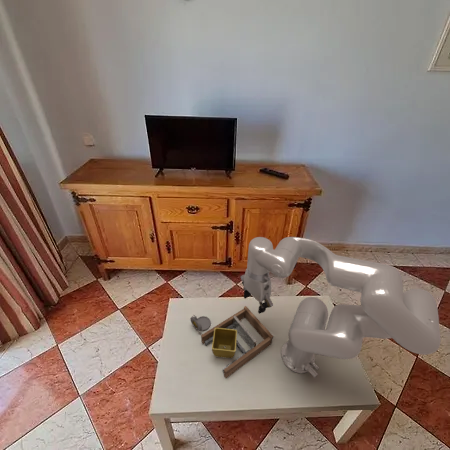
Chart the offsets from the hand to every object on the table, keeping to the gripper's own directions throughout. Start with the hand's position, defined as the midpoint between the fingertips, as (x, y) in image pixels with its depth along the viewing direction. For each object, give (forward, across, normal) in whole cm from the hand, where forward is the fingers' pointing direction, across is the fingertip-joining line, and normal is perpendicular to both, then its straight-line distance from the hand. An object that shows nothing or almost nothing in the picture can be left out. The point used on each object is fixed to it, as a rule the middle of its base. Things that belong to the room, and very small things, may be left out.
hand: (254, 303), depth 97 cm
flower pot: (+20, 0, +14) cm, 24 cm away
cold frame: (+20, 0, +8) cm, 21 cm away
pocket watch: (+20, +15, +16) cm, 29 cm away
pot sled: (+19, 0, +11) cm, 22 cm away
